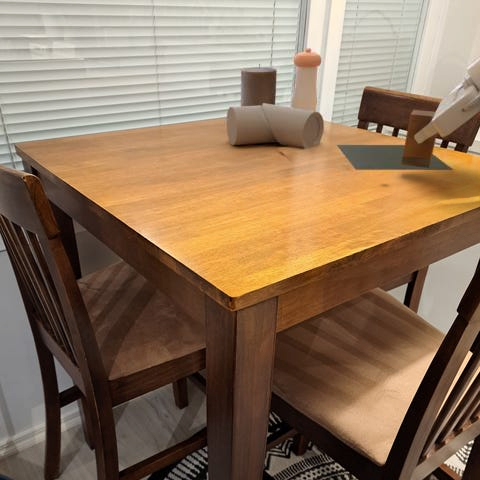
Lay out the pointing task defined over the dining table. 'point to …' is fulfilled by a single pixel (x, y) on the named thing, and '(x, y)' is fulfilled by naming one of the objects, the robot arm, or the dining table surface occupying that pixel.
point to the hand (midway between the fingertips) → (418, 136)
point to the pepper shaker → (306, 80)
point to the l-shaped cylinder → (274, 125)
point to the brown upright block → (412, 150)
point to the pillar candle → (258, 86)
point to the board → (384, 158)
